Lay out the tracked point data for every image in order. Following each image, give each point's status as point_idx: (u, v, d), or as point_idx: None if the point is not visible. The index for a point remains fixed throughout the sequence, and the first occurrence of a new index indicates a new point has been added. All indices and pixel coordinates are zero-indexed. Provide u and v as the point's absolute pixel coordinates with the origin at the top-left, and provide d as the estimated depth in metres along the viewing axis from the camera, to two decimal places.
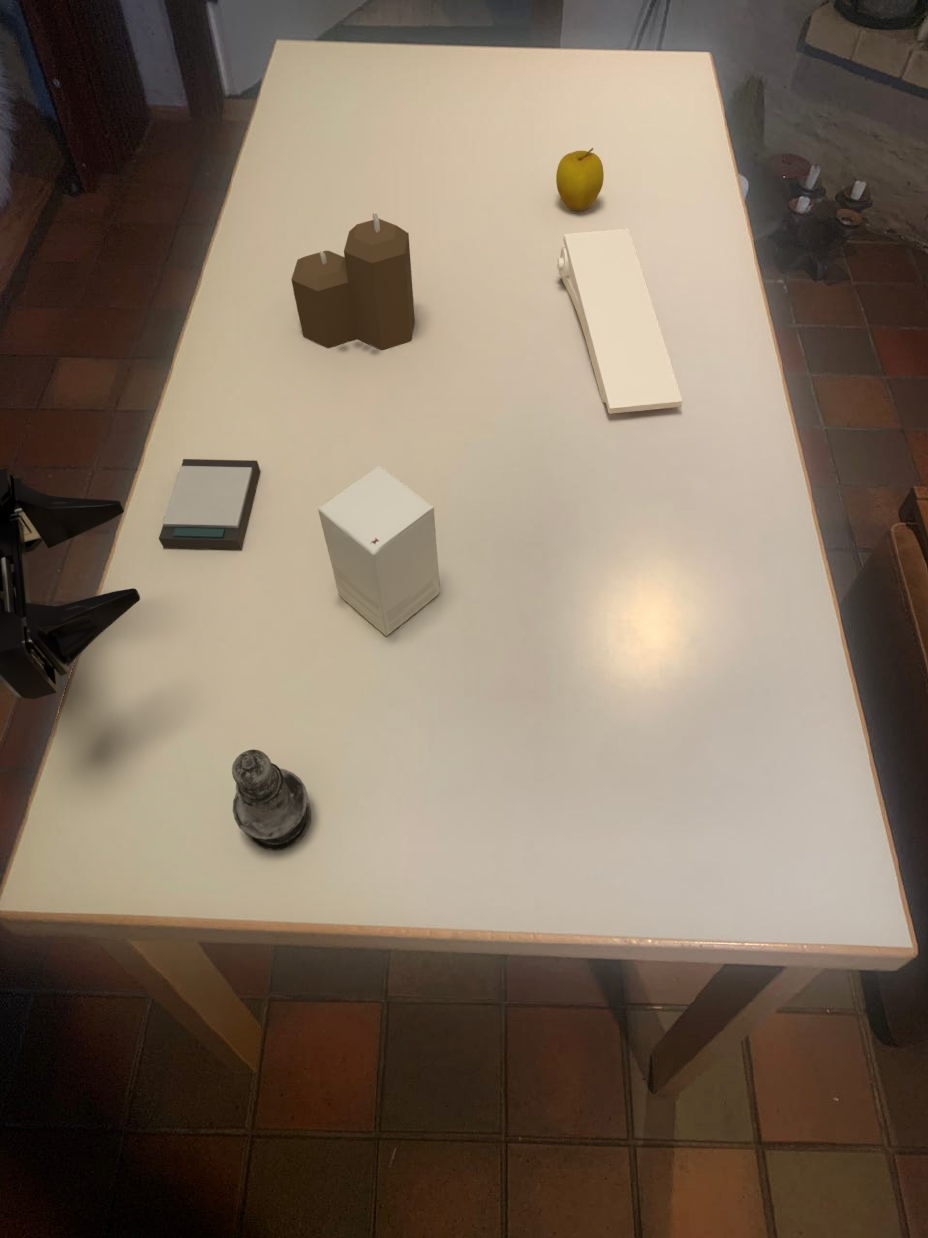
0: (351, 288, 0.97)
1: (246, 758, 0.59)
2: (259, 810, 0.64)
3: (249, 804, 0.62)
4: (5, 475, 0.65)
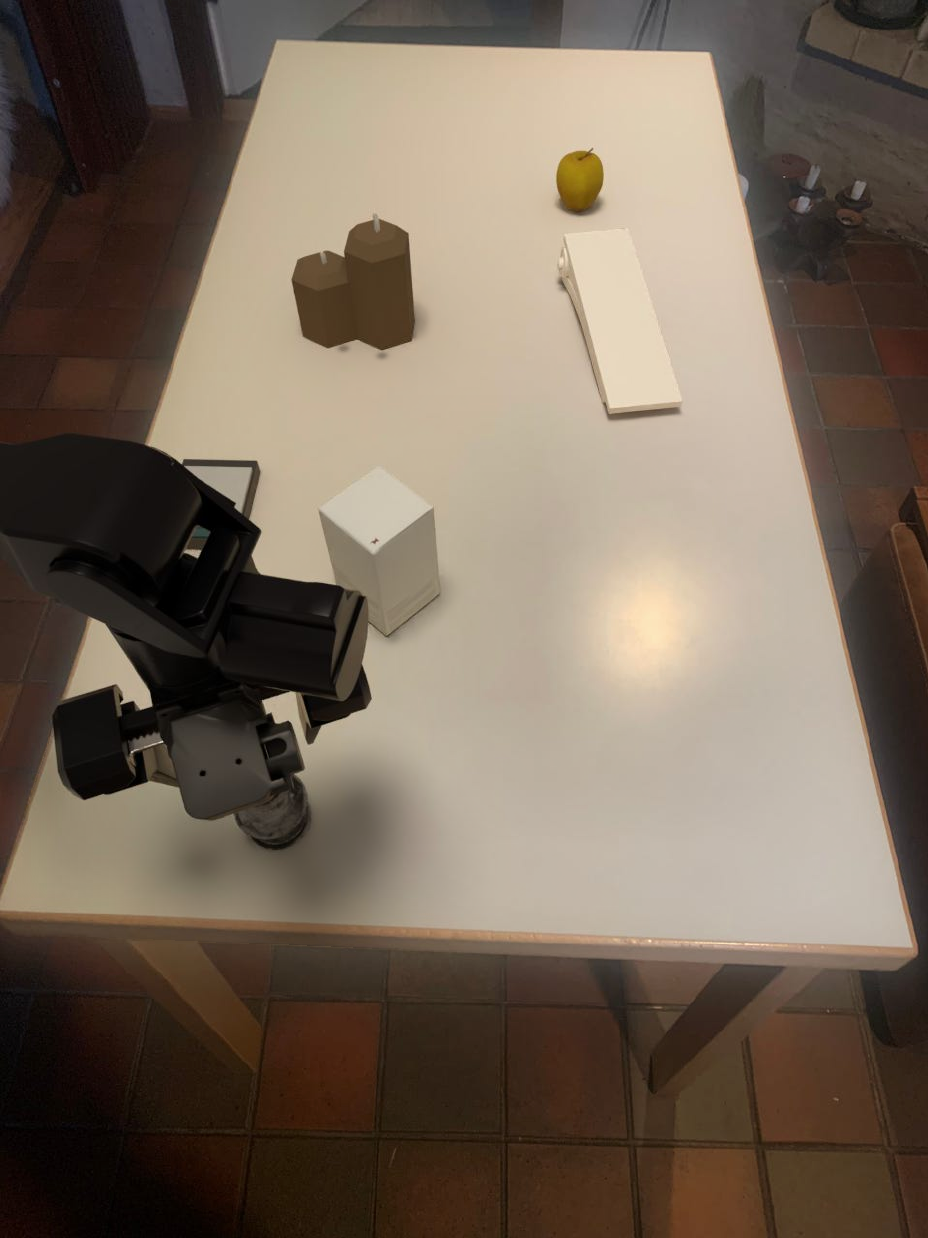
0: (351, 288, 0.97)
1: None
2: (259, 810, 0.64)
3: None
4: (352, 712, 0.53)
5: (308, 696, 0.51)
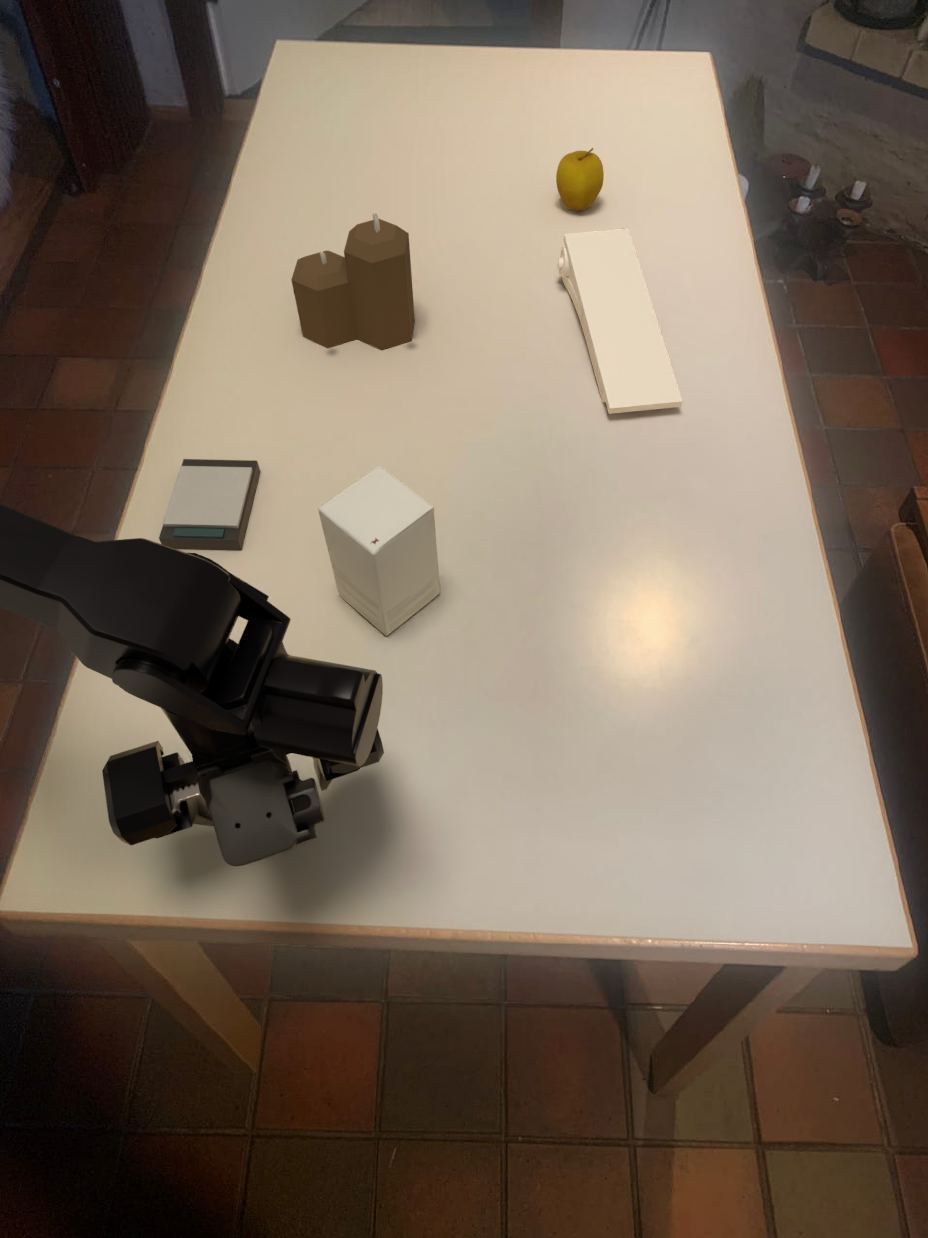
0: (351, 288, 0.97)
1: None
2: None
3: None
4: (366, 765, 0.60)
5: None
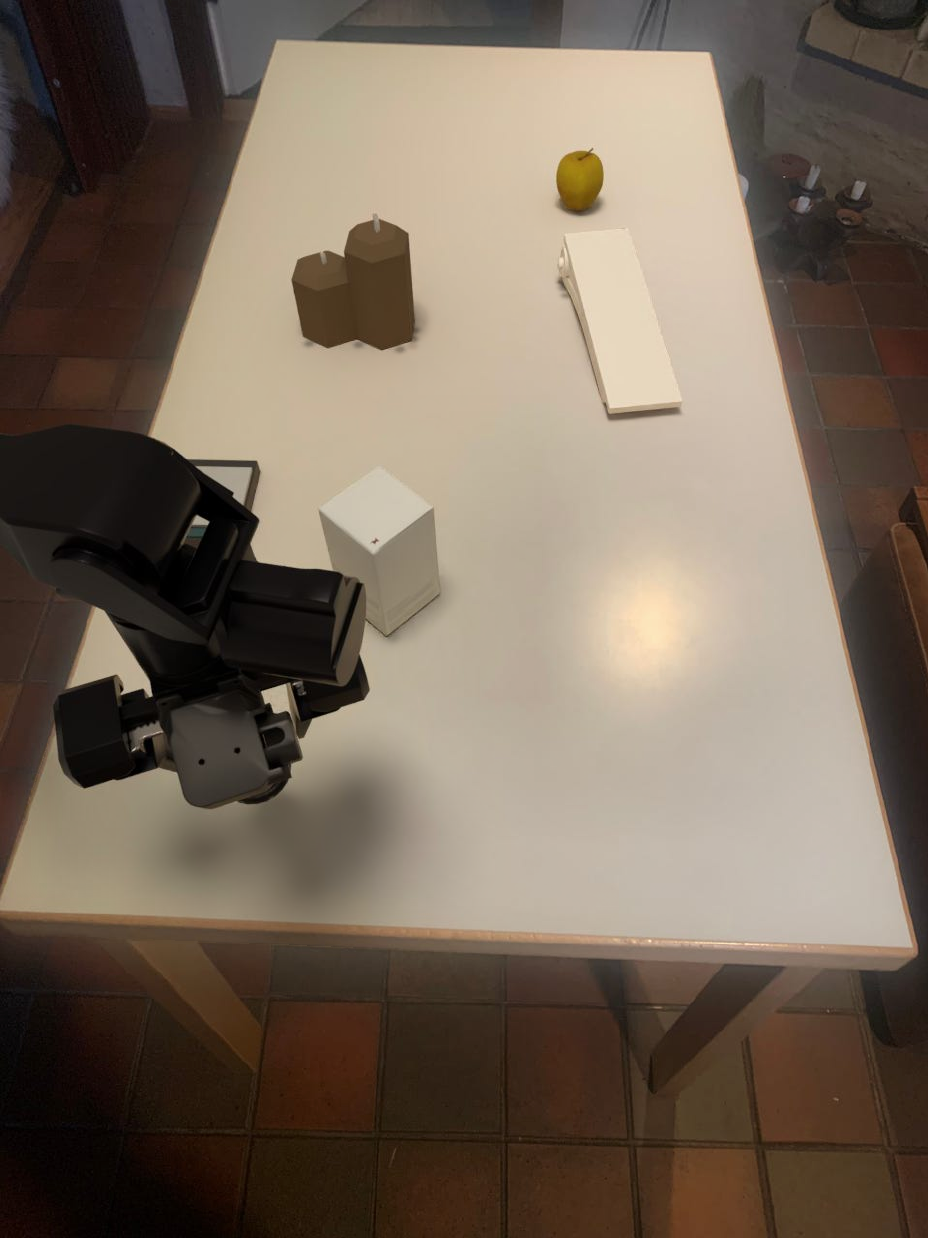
0: (351, 288, 0.97)
1: None
2: None
3: None
4: (350, 703, 0.54)
5: (306, 687, 0.52)
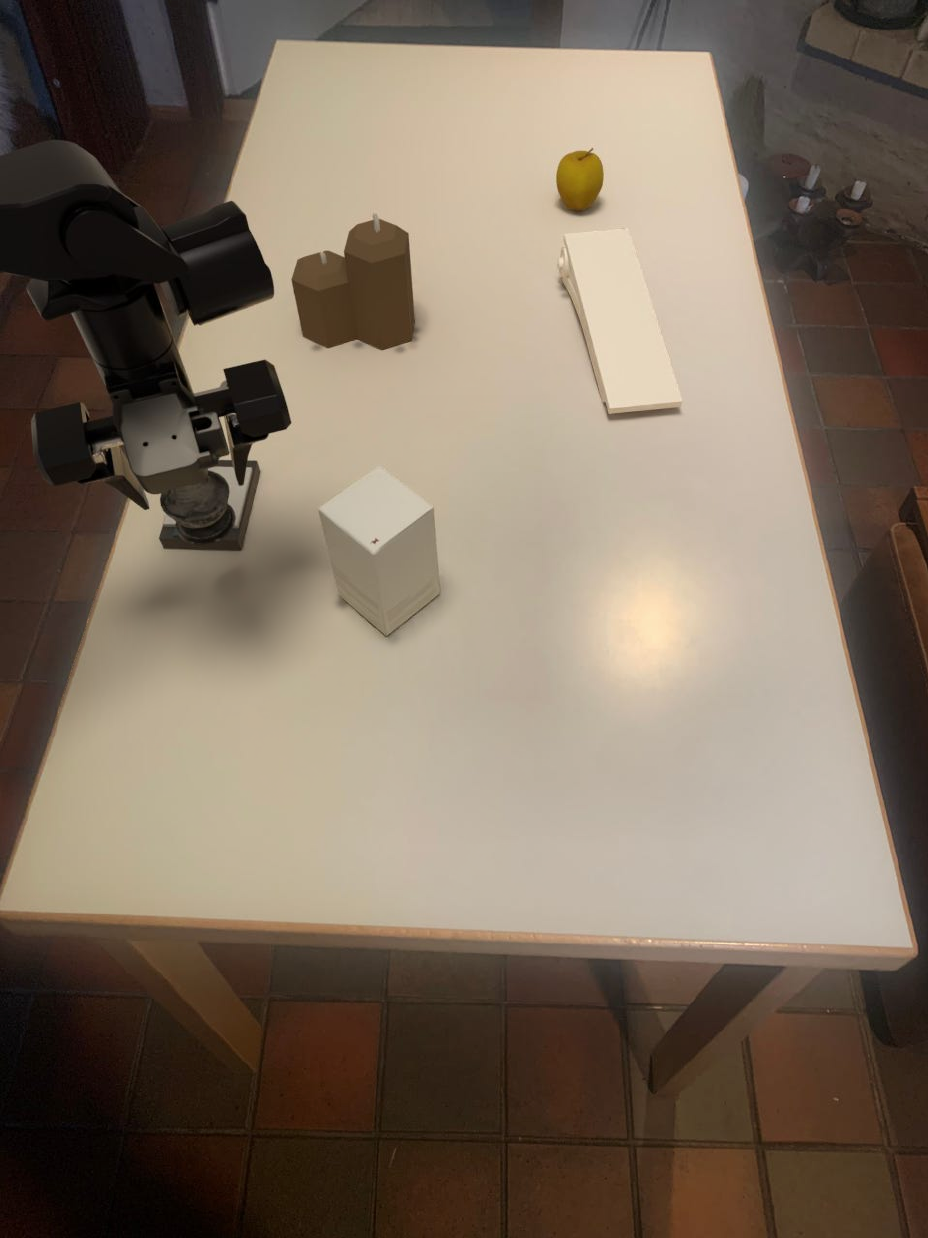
0: (351, 288, 0.97)
1: None
2: (195, 487, 0.69)
3: None
4: (274, 431, 0.65)
5: (236, 408, 0.63)
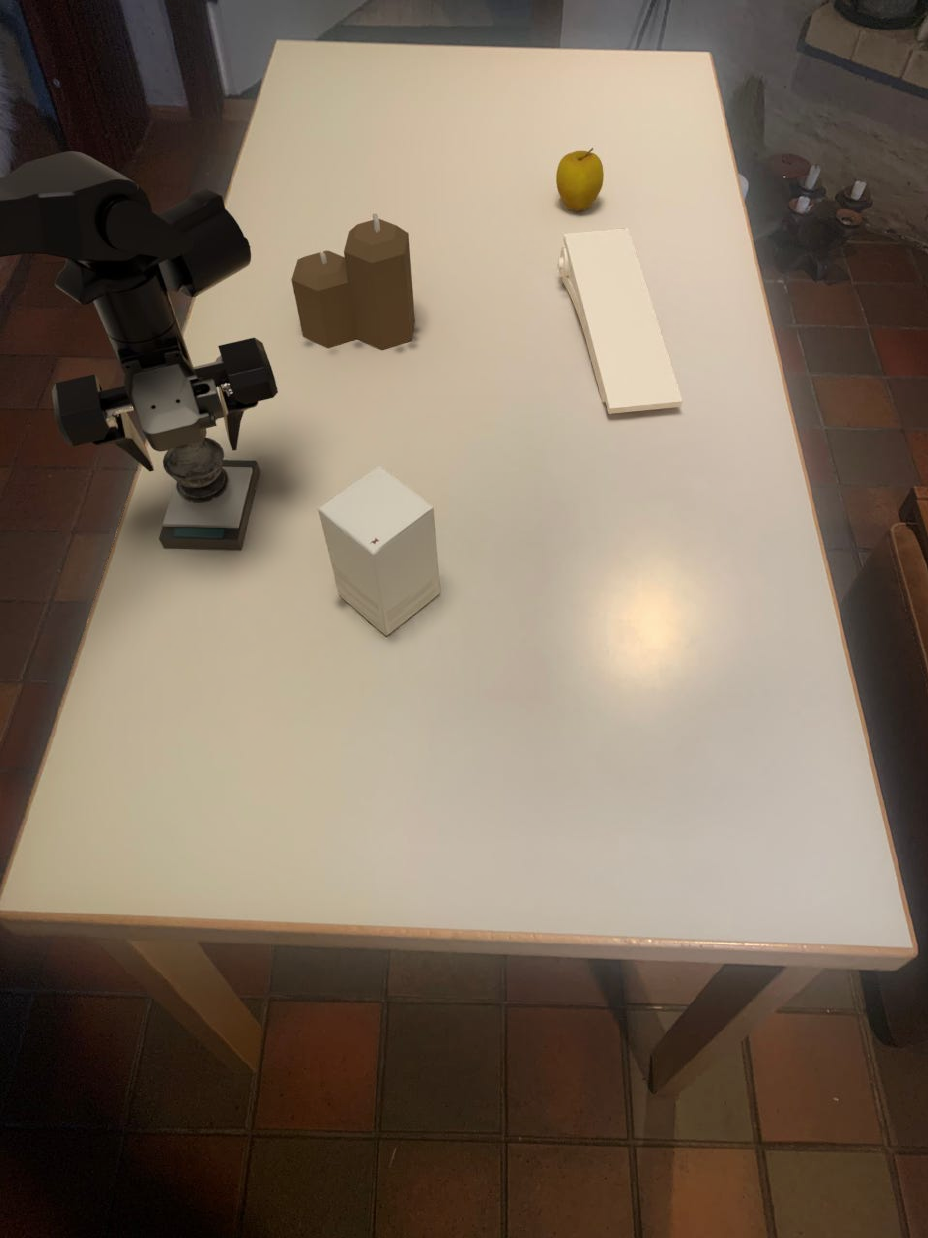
0: (351, 288, 0.97)
1: None
2: (194, 450, 0.79)
3: None
4: (263, 398, 0.75)
5: (230, 379, 0.73)
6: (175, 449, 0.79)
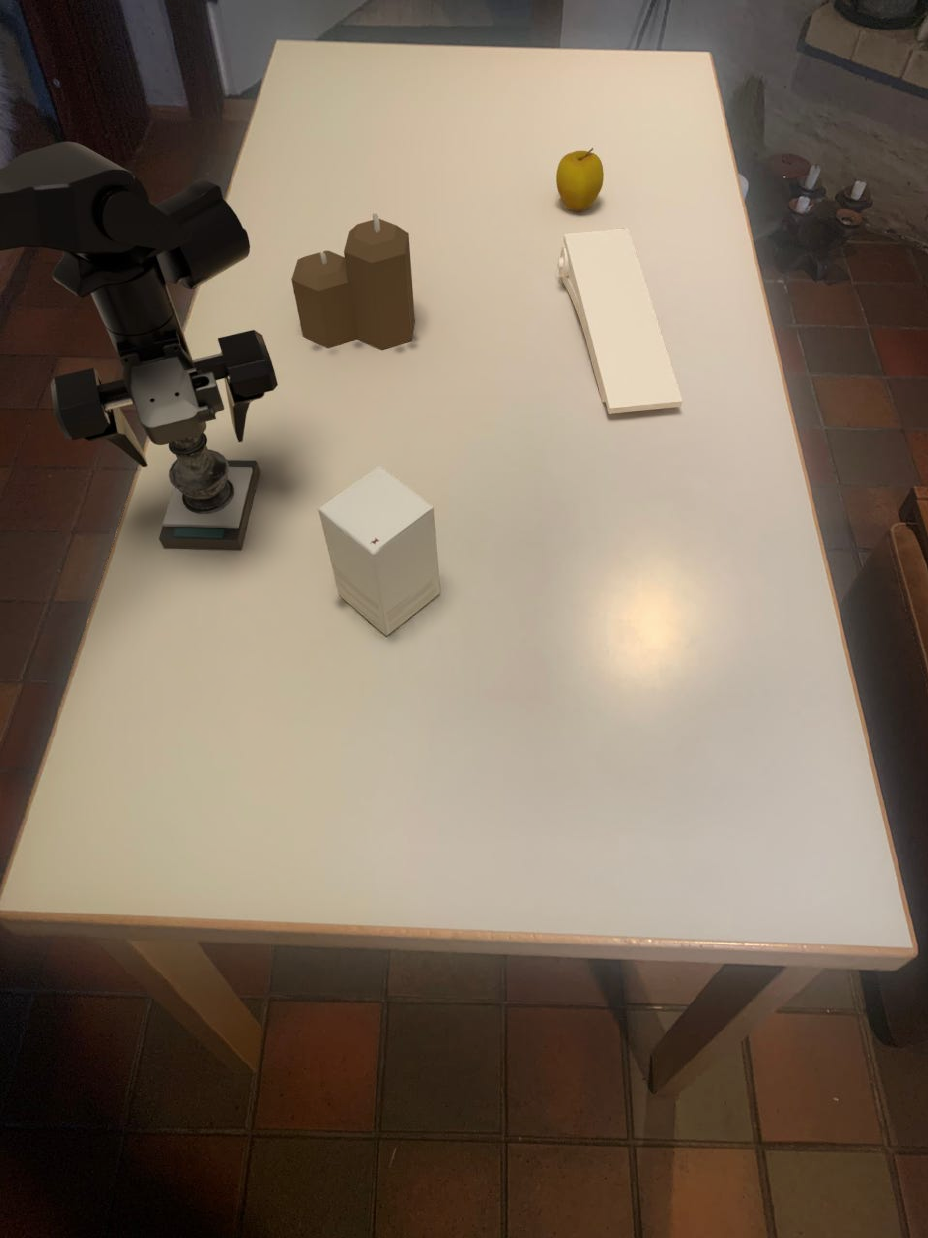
0: (351, 288, 0.97)
1: None
2: (179, 462, 0.81)
3: (170, 448, 0.80)
4: (263, 391, 0.75)
5: (229, 371, 0.73)
6: None
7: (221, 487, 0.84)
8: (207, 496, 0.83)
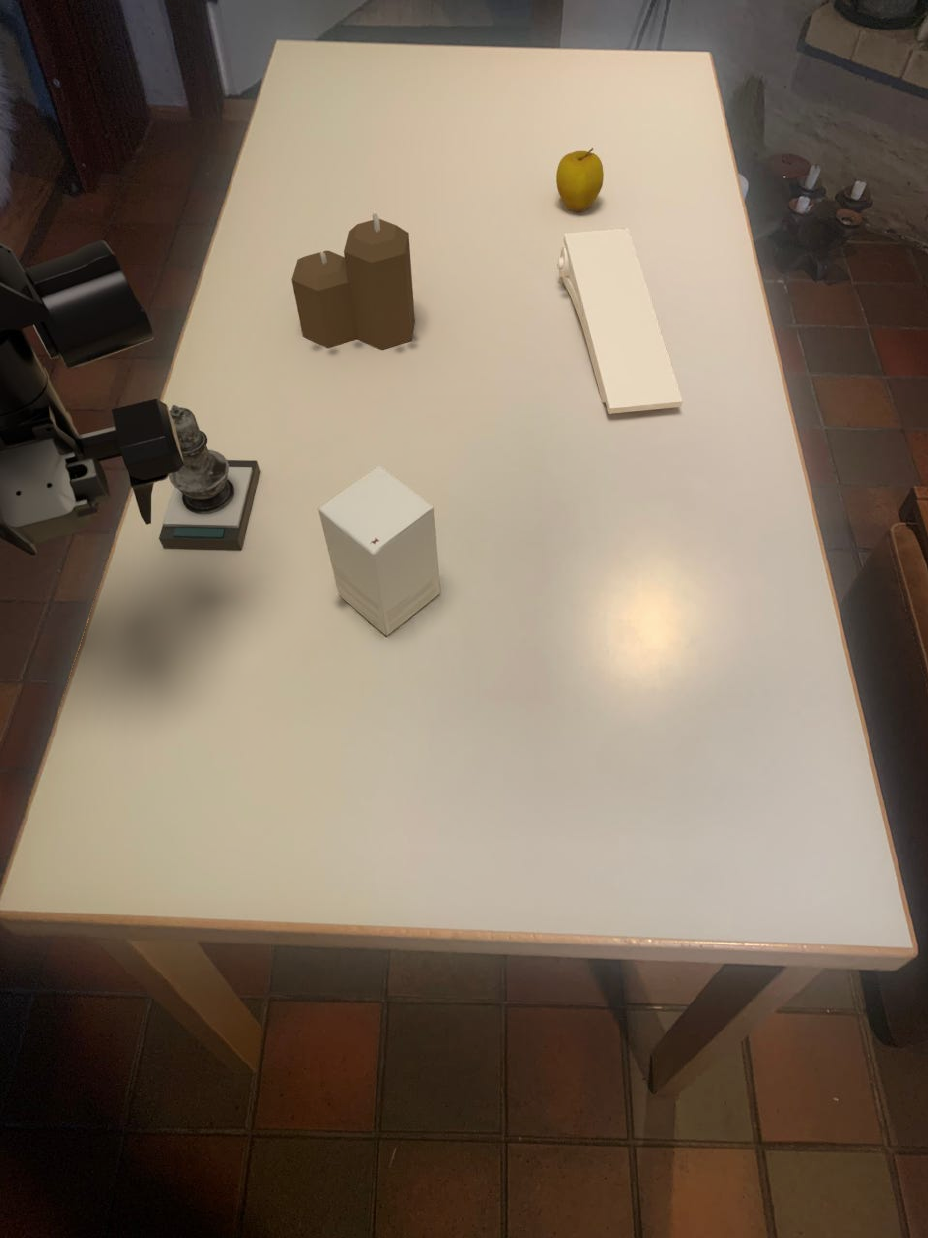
0: (351, 288, 0.97)
1: (174, 405, 0.76)
2: None
3: None
4: (165, 473, 0.63)
5: (122, 451, 0.61)
6: None
7: (221, 487, 0.84)
8: (207, 496, 0.83)
